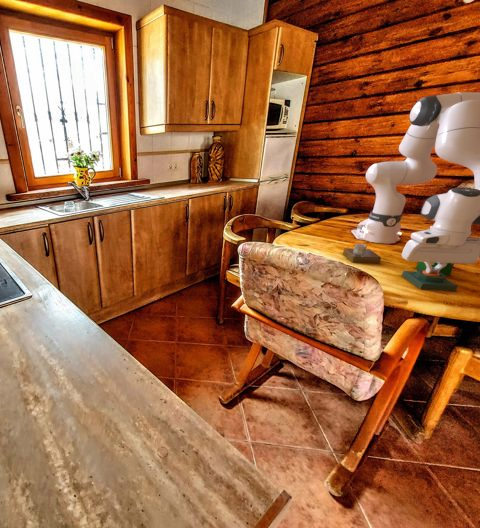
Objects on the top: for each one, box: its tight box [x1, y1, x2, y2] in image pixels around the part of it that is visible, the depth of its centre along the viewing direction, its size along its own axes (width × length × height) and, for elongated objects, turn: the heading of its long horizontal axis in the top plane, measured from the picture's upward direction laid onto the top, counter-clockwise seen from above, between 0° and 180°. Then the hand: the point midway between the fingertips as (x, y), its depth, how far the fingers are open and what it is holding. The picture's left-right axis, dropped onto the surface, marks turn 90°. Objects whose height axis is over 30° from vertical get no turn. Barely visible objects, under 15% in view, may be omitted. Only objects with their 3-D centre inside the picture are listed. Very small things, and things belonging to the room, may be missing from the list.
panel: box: [342, 247, 382, 264], centre depth 125 cm, size 11×11×3 cm
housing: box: [401, 269, 458, 292], centre depth 102 cm, size 11×10×4 cm
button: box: [422, 270, 440, 277], centre depth 102 cm, size 4×4×2 cm
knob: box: [353, 243, 368, 255], centre depth 122 cm, size 4×4×4 cm
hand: (431, 272), depth 101 cm, fingers closed, pressing on button
